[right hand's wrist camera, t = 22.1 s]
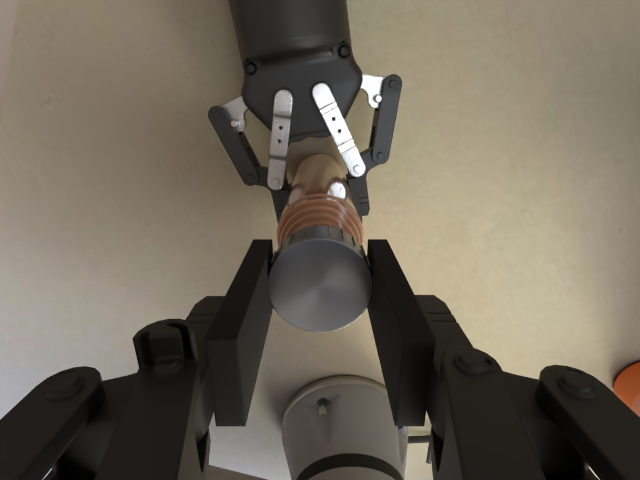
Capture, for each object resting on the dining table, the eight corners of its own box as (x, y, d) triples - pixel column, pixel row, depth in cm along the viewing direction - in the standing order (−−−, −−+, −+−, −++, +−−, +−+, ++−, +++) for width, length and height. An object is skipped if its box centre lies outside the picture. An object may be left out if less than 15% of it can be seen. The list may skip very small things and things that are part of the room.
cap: (253, 283, 15) (246, 302, 13) (304, 204, 14) (302, 215, 12) (333, 328, 16) (334, 350, 14) (389, 257, 14) (396, 273, 13)
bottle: (349, 192, 34) (391, 312, 14) (305, 207, 34) (286, 342, 15) (335, 147, 32) (359, 210, 13) (289, 163, 33) (243, 247, 13)
